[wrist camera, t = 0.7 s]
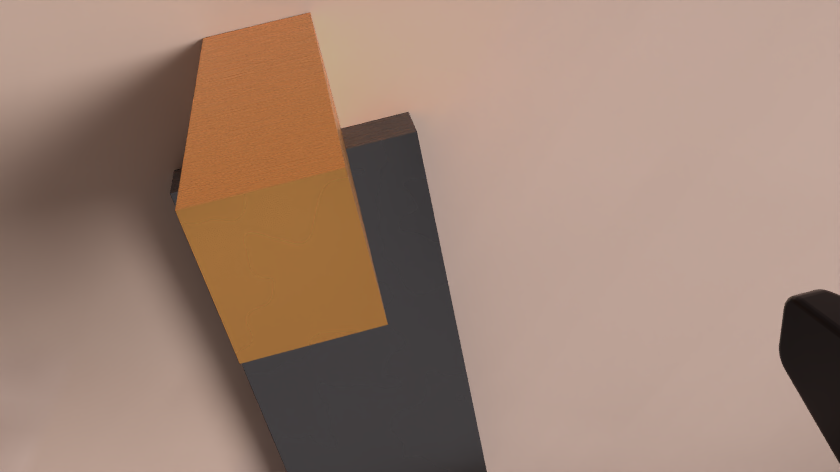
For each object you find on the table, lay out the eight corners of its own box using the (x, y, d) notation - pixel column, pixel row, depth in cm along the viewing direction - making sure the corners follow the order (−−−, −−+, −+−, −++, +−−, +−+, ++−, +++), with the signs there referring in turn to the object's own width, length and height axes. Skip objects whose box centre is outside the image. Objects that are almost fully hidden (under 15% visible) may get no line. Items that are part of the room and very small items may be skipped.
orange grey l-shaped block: (481, 463, 27) (557, 697, 20) (313, 510, 27) (334, 763, 20) (383, -6, 18) (462, 137, 11) (127, 56, 18) (53, 241, 11)
